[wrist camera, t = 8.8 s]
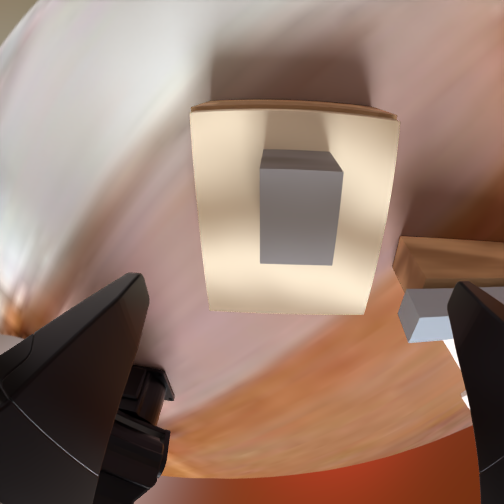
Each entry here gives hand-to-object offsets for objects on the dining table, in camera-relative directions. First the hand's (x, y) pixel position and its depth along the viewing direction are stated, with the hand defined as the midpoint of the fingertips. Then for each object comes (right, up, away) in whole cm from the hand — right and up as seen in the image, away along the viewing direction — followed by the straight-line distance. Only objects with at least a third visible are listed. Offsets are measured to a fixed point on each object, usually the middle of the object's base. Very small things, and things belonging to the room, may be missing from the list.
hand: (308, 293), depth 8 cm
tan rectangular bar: (+17, +1, +13) cm, 22 cm away
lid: (+1, +3, +8) cm, 9 cm away
